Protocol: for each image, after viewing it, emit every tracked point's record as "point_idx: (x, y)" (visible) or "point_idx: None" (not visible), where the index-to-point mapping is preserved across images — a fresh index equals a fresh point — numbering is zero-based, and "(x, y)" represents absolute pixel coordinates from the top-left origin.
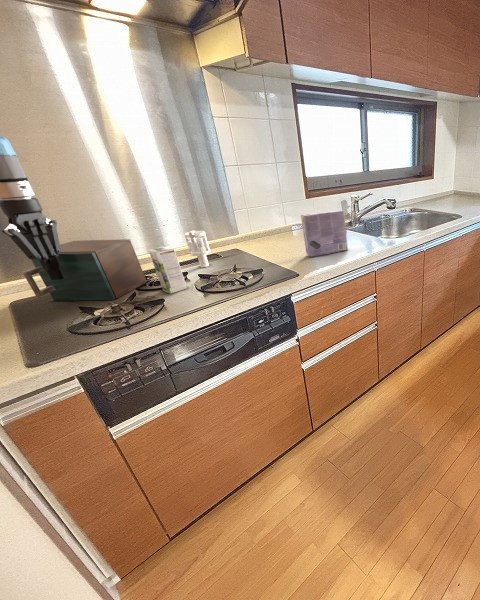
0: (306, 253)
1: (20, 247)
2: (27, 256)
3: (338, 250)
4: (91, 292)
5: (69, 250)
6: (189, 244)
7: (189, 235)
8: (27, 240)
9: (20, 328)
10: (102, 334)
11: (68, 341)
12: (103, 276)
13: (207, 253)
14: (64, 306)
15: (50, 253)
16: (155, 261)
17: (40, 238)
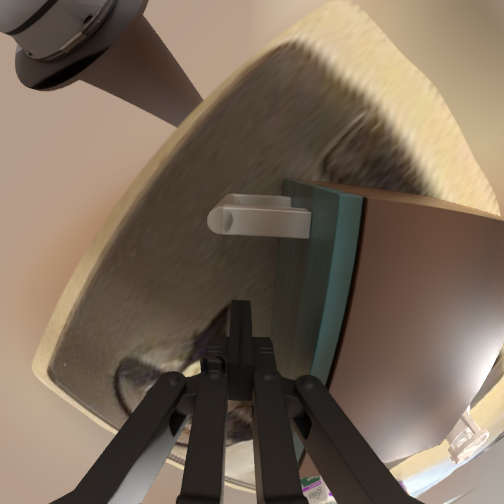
0: (401, 482)
1: (122, 436)
2: (153, 387)
3: None
4: (274, 329)
5: (354, 401)
6: (466, 421)
7: (456, 455)
8: (184, 475)
9: (110, 253)
10: (123, 414)
11: (96, 384)
12: None
13: None
14: (236, 253)
15: (252, 415)
16: (303, 487)
17: (257, 489)
